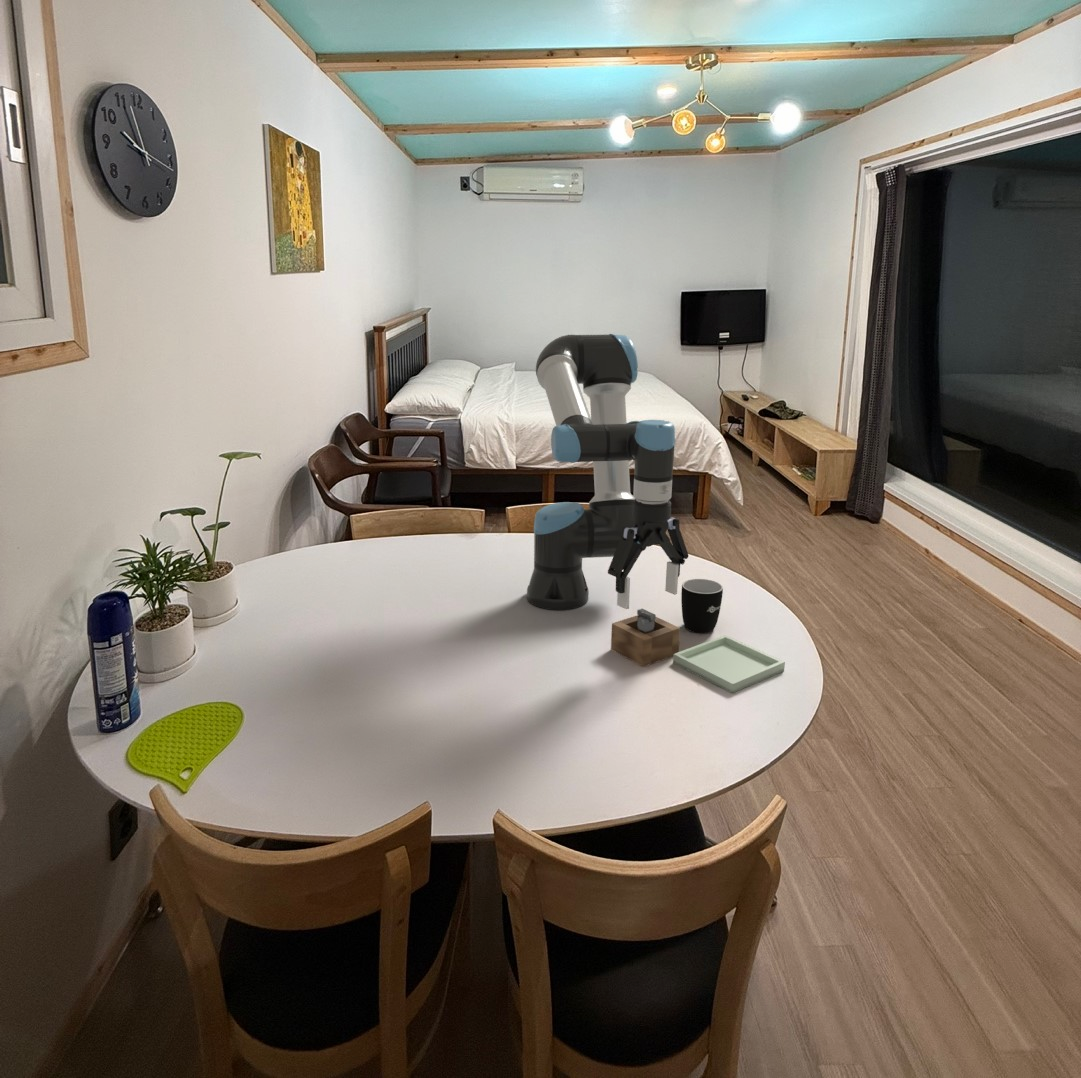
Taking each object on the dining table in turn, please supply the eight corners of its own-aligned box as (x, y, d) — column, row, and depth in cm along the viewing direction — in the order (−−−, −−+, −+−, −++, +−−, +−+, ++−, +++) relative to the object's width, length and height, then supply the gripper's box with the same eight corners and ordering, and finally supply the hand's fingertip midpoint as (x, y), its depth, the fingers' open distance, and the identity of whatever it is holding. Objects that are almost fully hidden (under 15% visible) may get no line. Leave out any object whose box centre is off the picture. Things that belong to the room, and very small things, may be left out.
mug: (706, 639, 175) (709, 596, 172) (671, 628, 180) (674, 586, 177) (733, 623, 183) (737, 581, 180) (699, 612, 189) (702, 572, 186)
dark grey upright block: (631, 650, 169) (633, 611, 167) (644, 646, 172) (646, 607, 169) (644, 657, 166) (646, 617, 164) (657, 652, 168) (659, 613, 166)
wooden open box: (610, 649, 170) (611, 623, 168) (645, 637, 176) (646, 612, 174) (643, 667, 162) (644, 640, 160) (678, 654, 168) (680, 627, 166)
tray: (673, 662, 164) (673, 654, 164) (724, 643, 173) (725, 635, 172) (732, 693, 152) (732, 684, 152) (784, 670, 161) (785, 661, 160)
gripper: (617, 513, 149) (614, 619, 155) (709, 494, 163) (703, 591, 169) (591, 505, 154) (589, 607, 161) (682, 487, 168) (677, 581, 175)
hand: (647, 599), depth 165 cm, fingers open, 13 cm apart
